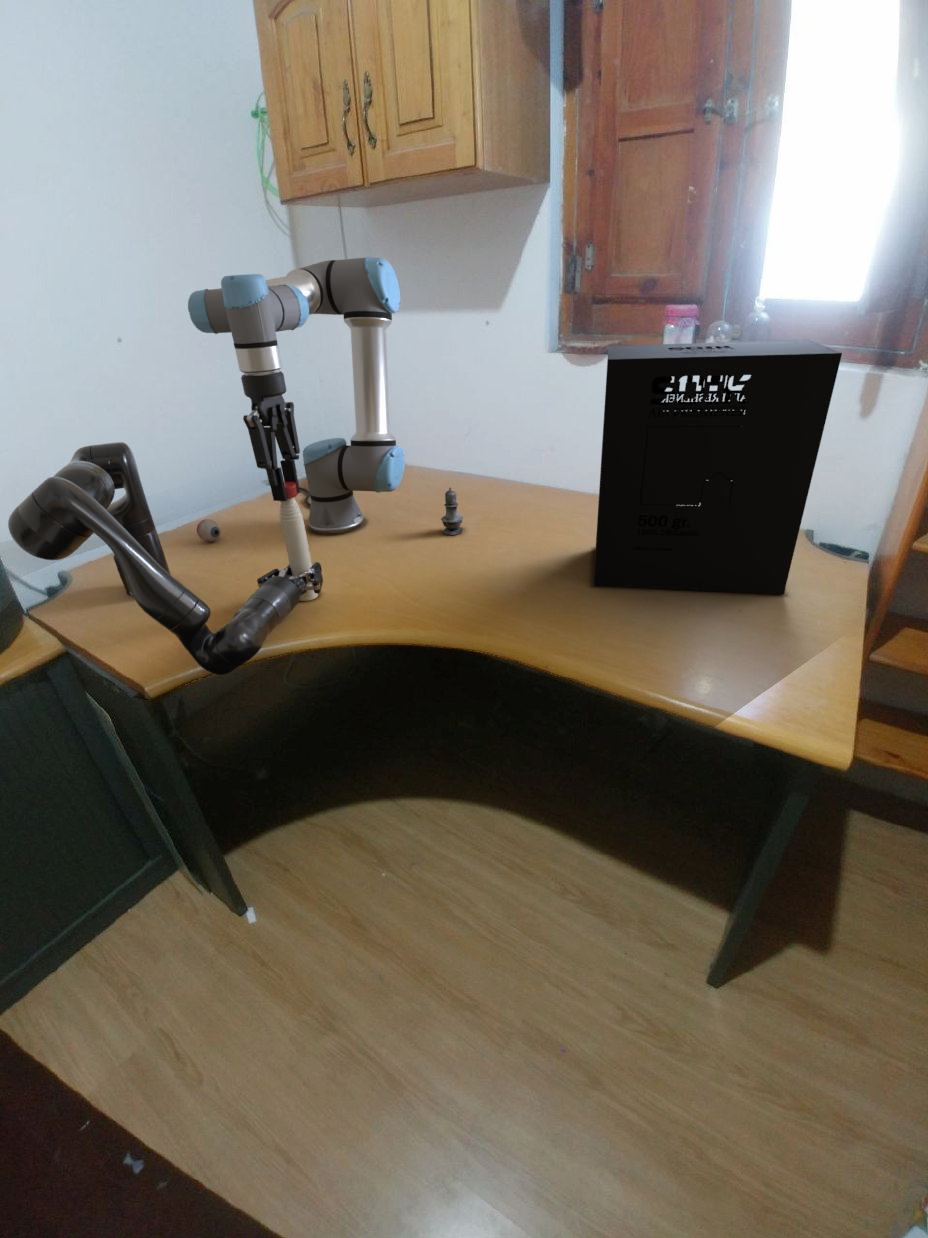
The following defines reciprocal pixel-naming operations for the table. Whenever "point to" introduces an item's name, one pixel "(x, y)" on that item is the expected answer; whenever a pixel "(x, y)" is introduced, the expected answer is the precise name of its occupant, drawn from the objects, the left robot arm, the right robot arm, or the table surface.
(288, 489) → the cap
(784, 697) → the table surface
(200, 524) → the eyeball
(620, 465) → the cardboard box
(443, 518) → the salt shaker
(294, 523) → the bottle
